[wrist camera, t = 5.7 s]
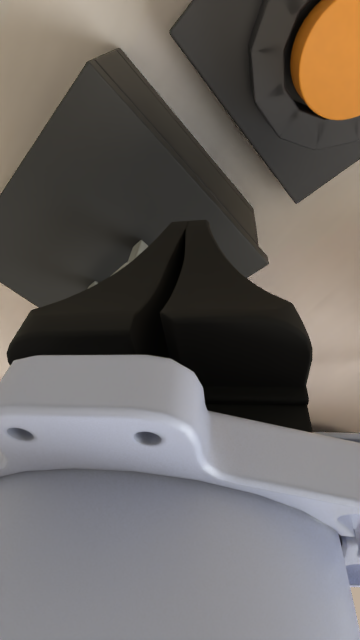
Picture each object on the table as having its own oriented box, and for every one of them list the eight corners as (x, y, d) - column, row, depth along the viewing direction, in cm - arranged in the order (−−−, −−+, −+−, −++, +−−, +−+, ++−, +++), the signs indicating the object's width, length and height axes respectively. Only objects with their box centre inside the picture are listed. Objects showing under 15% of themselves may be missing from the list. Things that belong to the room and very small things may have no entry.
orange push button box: (474, 59, 15) (526, 71, 12) (292, 193, 19) (302, 222, 17) (378, -240, 10) (430, -321, 8) (172, 30, 15) (161, 35, 12)
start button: (409, 54, 12) (434, 61, 11) (318, 128, 14) (330, 142, 13) (367, -48, 11) (389, -56, 9) (271, 50, 13) (277, 56, 11)
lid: (268, 256, 18) (278, 314, 14) (120, 352, 24) (104, 406, 21) (93, 57, 12) (47, 78, 9) (-34, 249, 19) (-86, 300, 16)
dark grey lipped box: (253, 208, 20) (259, 246, 17) (124, 306, 27) (111, 346, 24) (119, 46, 16) (93, 57, 12) (3, 214, 22) (-33, 249, 19)
